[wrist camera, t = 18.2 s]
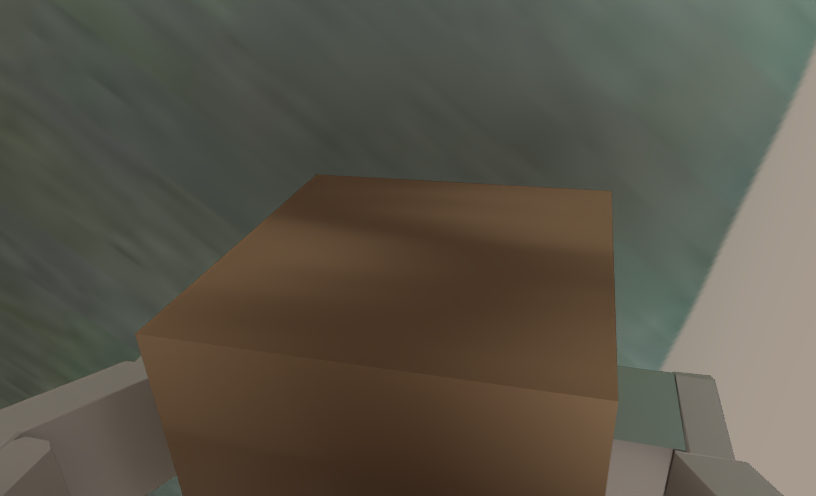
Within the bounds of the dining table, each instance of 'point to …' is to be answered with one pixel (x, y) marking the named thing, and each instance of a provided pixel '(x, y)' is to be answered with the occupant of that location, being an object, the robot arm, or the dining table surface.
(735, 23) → the dining table surface
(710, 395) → the robot arm
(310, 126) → the dining table surface
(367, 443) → the cube
